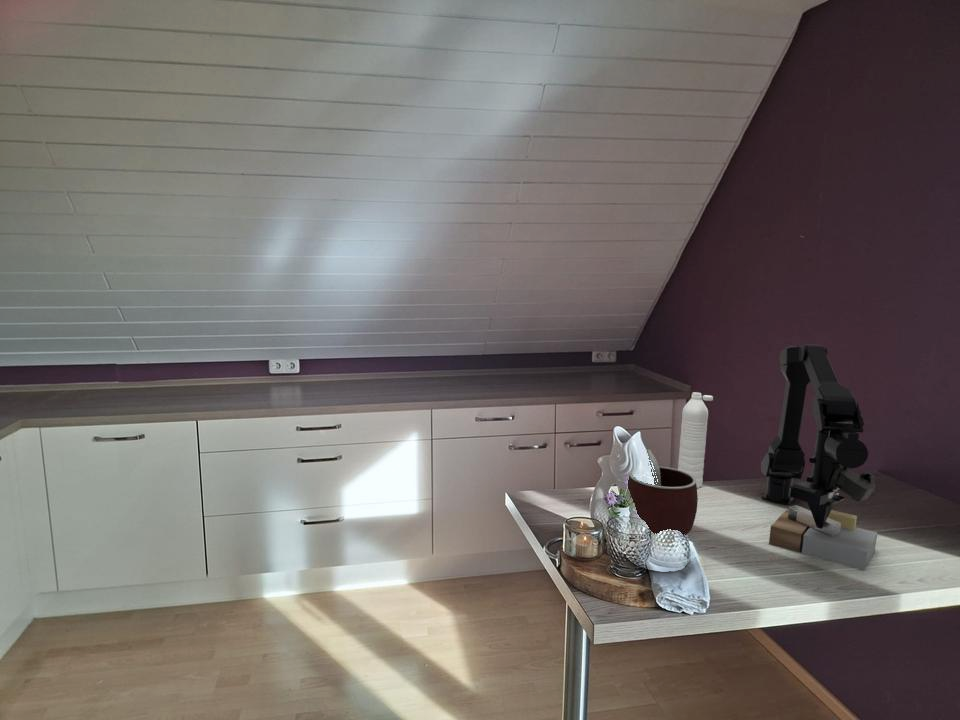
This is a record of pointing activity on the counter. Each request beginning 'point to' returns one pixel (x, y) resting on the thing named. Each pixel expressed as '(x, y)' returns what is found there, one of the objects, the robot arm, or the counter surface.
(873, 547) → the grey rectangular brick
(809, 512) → the bar
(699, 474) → the water bottle
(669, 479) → the mate gourd
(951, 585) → the counter surface
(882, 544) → the counter surface
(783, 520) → the jamb block
